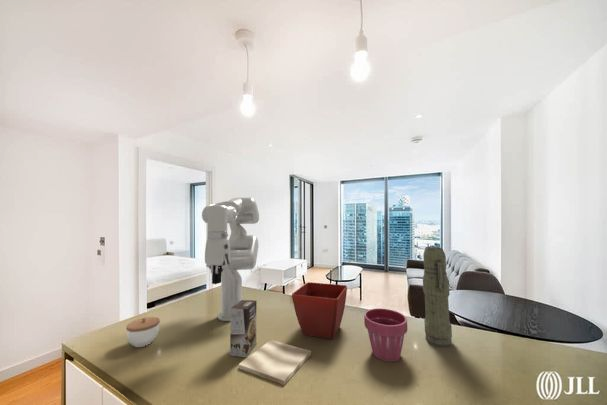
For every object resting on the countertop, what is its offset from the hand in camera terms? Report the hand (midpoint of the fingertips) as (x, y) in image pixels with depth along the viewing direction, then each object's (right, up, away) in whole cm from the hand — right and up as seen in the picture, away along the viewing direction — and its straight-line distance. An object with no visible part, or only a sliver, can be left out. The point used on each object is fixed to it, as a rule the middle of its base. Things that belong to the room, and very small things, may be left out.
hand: (216, 283), depth 94 cm
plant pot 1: (+42, -22, +6) cm, 48 cm away
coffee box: (+13, -22, -8) cm, 26 cm away
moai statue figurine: (+85, -21, -3) cm, 88 cm away
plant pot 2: (+63, -21, -12) cm, 67 cm away
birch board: (+25, -21, -15) cm, 36 cm away
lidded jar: (-27, -23, -2) cm, 36 cm away
